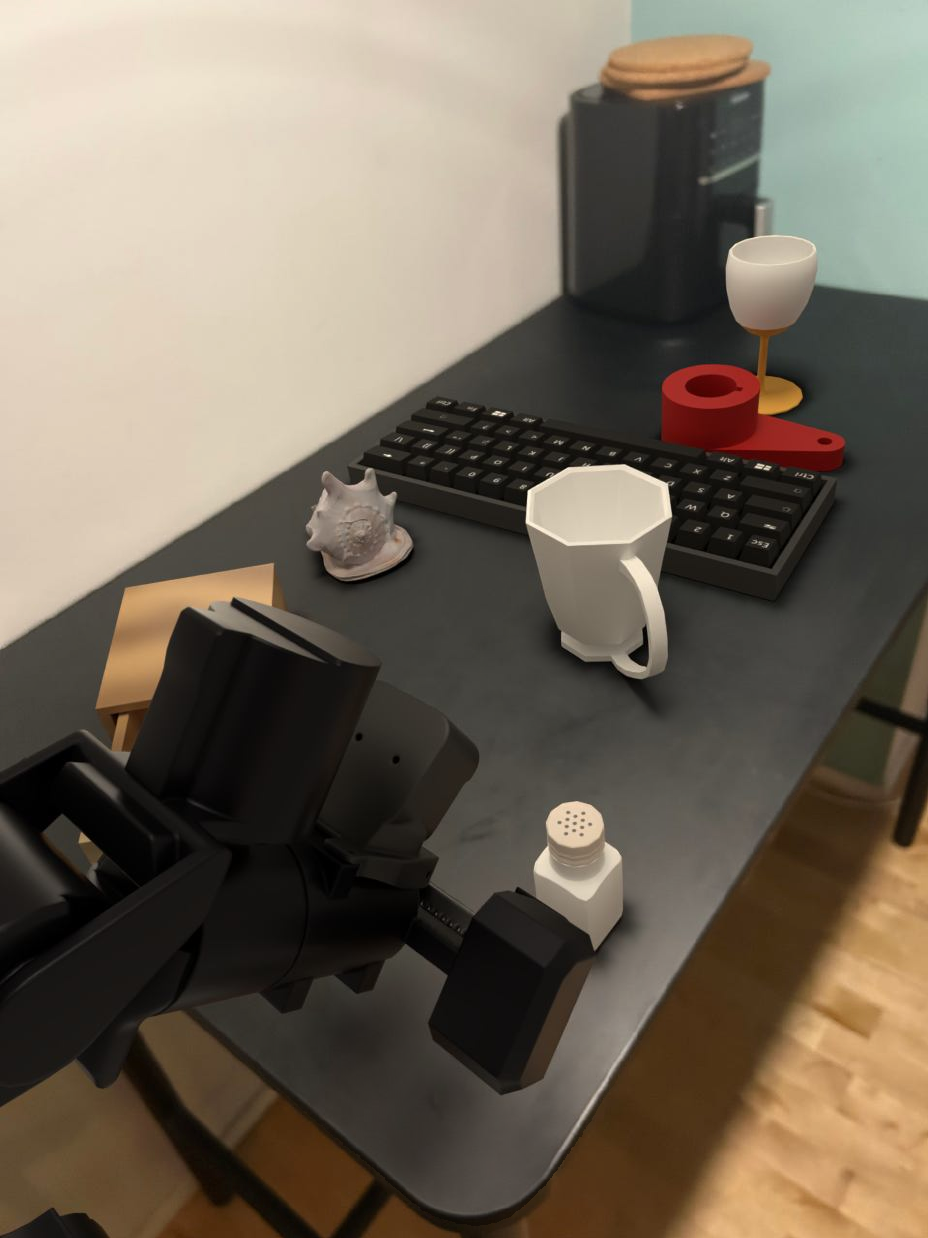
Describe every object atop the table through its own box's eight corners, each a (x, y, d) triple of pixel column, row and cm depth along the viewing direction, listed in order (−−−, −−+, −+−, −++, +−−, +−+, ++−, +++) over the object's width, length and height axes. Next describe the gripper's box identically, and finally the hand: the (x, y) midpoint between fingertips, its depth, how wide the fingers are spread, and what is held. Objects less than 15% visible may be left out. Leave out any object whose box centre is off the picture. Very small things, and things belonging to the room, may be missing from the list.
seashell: (337, 600, 87) (315, 514, 81) (278, 545, 95) (253, 462, 89) (430, 553, 90) (415, 467, 84) (365, 503, 98) (347, 422, 92)
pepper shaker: (573, 882, 61) (565, 784, 55) (627, 914, 59) (625, 815, 53) (535, 928, 59) (523, 831, 53) (590, 962, 57) (584, 866, 51)
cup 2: (700, 392, 108) (707, 248, 98) (766, 370, 110) (779, 227, 100) (751, 424, 102) (764, 274, 91) (820, 399, 104) (840, 250, 94)
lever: (648, 460, 99) (649, 401, 94) (678, 416, 105) (679, 359, 100) (831, 489, 91) (840, 426, 87) (851, 440, 97) (861, 379, 93)
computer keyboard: (833, 502, 89) (839, 466, 87) (774, 601, 80) (778, 563, 77) (436, 418, 111) (431, 387, 108) (352, 487, 101) (344, 455, 99)
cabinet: (289, 741, 74) (268, 679, 69) (125, 769, 73) (94, 708, 69) (292, 622, 85) (274, 562, 81) (150, 646, 85) (125, 587, 80)
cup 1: (635, 577, 84) (634, 448, 76) (727, 696, 72) (739, 557, 64) (513, 613, 82) (500, 484, 74) (588, 740, 70) (581, 603, 62)
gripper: (547, 824, 28) (721, 816, 41) (174, 603, 38) (406, 652, 51) (405, 1162, 29) (619, 1049, 42) (77, 856, 39) (329, 842, 52)
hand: (481, 877), depth 47 cm, fingers open, 9 cm apart
